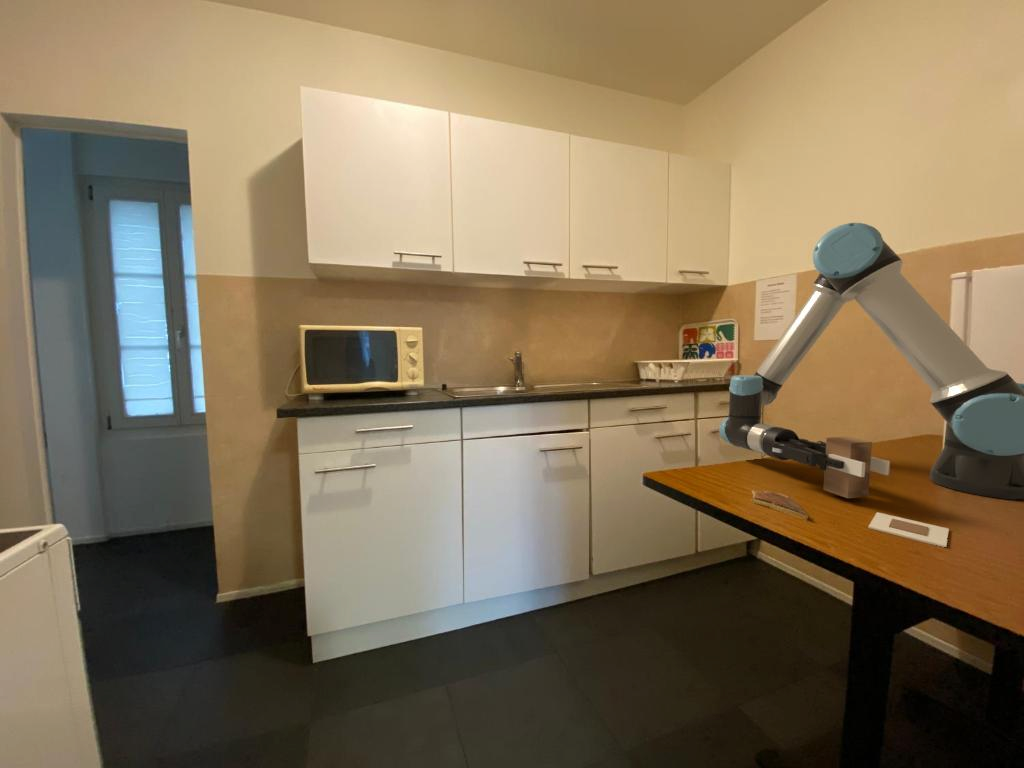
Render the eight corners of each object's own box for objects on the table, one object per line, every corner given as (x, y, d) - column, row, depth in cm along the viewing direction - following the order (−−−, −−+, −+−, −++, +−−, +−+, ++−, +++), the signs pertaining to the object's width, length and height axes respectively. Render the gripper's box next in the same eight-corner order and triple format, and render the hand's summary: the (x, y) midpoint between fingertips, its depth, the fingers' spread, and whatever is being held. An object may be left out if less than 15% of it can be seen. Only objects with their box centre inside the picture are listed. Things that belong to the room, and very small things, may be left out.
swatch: (948, 530, 67) (948, 527, 67) (946, 547, 61) (946, 544, 61) (876, 513, 74) (876, 511, 74) (868, 528, 68) (868, 525, 68)
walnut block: (843, 488, 85) (846, 436, 84) (868, 496, 80) (872, 441, 79) (823, 489, 84) (826, 437, 83) (847, 498, 79) (851, 443, 78)
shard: (809, 524, 71) (809, 514, 71) (759, 518, 73) (759, 508, 73) (789, 502, 81) (789, 493, 81) (746, 497, 84) (746, 489, 83)
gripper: (803, 454, 101) (911, 485, 78) (741, 458, 97) (834, 491, 75) (805, 425, 100) (914, 447, 77) (742, 428, 97) (837, 452, 74)
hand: (875, 468), depth 76 cm, fingers closed on walnut block, 5 cm apart
